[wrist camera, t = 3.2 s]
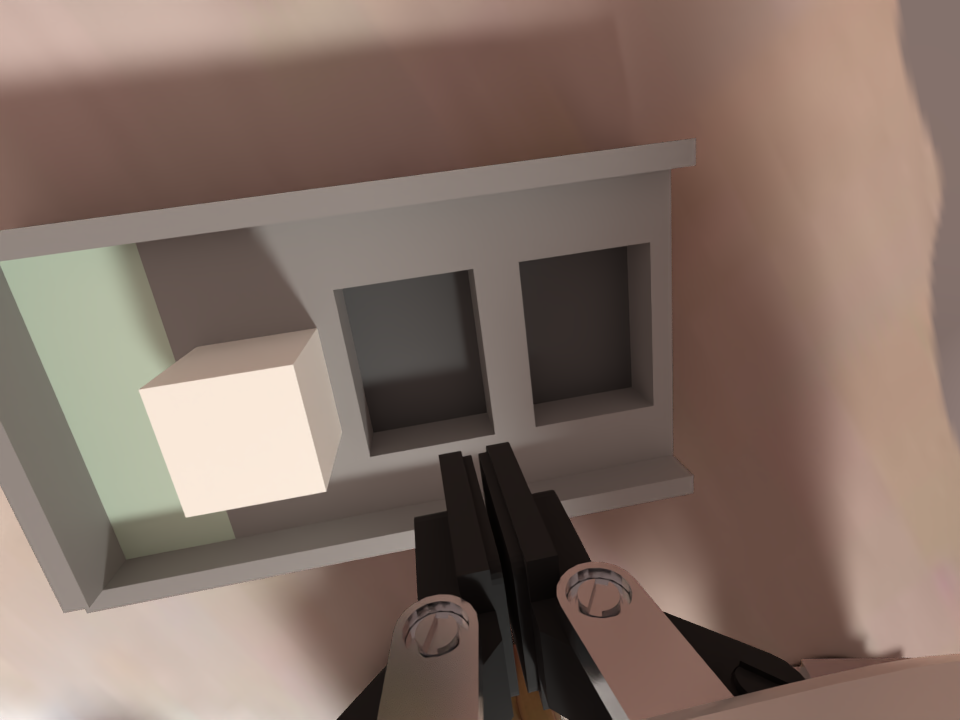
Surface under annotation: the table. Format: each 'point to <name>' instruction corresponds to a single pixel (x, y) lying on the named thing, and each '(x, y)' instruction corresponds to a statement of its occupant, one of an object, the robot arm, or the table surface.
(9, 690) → the table surface
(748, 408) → the table surface
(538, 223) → the box
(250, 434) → the cream block
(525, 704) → the wooden toy train
